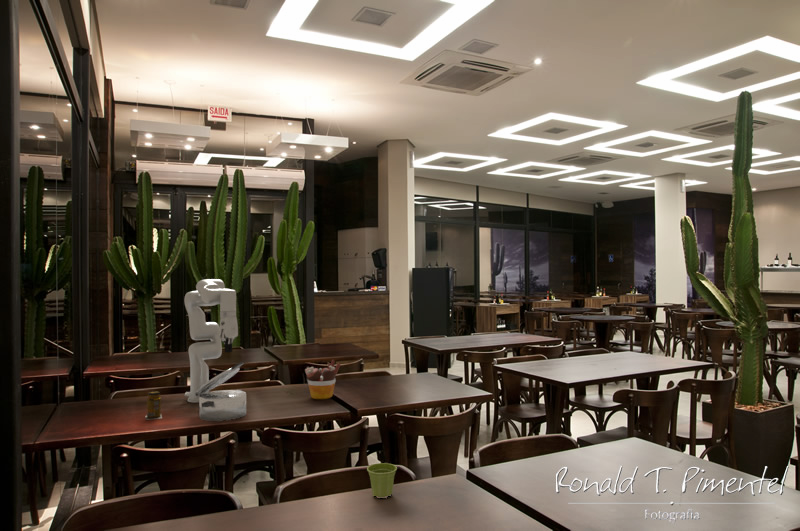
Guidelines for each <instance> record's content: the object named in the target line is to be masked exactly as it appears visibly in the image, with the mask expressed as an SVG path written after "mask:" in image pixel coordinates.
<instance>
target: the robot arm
mask: <svg viewBox="0 0 800 531" xmlns="http://www.w3.org/2000/svg"><path fill="white" fill-rule="evenodd" d="M195 288H196V290H192V291H188V292H186V294H185V296H184V306H185V310H186V312H187V315H188V321H189V322H188V324H189V326H188V327H189V335H190V338H191V339H192V340H193V341H201V342H195V343H192V344H191V345H189V347H188V356H189V364H190V366H189V367H190V369H189V370H190V371H189V372H190V373H189V374H190V375H189V376H190V384H189V385H190V390H189V391H186V392H185V393H184V397H188V398H187V402H188V403H193V404H196V403H197V404H198V403H199V396H200V395H202V394H200V395H198V396H196V395H195V394H196V393H197V390H198V389H199V388H200V387H201V386H202V385H204V384H205V383H206V382H208V381H209V380H210V379H209V377H210V375H209V374H210V371H209V370H210V368H209V365H208V364H207V363H206V361H205V360H211V359H212V360H214V359H218V358H220V357H221V356H222V353H223V347H222V346H223V345H222V342H223V344H224V353H232V352H233V343H234V340H235V339H236V338H237V337H238V336H239V325H238V318H237V292H236V289H230V288H226V285H225V283H224V281H223V280H222V279H219V278H218V279H217V278H216V279H215V278H211V279H210V278H207V279H201V280H199V281H198V282H197V283H196V285H195ZM216 305H219V306H220V307H219V308H220V309H219V318H220V319H219V323H218V322H215V321H208V322H207V321H206V314H205V312H204V311H203V310H202V308H201V307H204V306H205V307H209V306H210V307H212V306H216ZM205 340H210V341H205ZM208 392H210V390H209V391H207V392H205V393H208ZM203 394H204V393H203Z"/></svg>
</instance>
